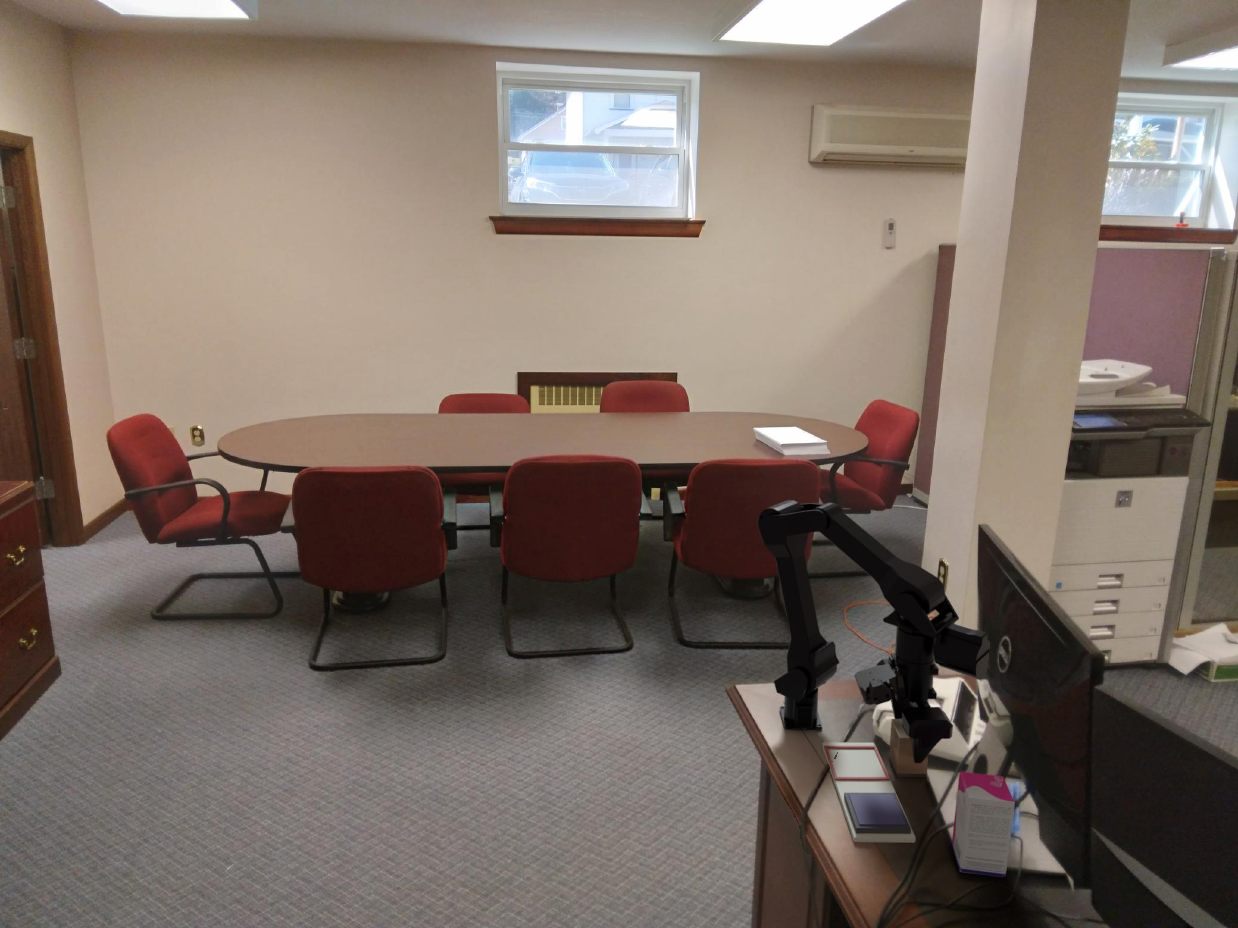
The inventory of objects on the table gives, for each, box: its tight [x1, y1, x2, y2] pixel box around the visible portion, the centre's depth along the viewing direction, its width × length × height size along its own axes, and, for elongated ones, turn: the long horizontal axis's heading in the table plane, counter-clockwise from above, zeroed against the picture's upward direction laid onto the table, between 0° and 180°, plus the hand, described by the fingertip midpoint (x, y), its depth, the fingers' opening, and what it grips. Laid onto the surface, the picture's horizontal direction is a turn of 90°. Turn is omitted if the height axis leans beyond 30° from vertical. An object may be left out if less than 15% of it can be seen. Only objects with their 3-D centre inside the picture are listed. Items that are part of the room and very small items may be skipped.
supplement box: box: [951, 771, 1016, 878], centre depth 104 cm, size 6×6×12 cm
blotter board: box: [821, 742, 917, 844], centre depth 119 cm, size 22×8×2 cm, turn 177°
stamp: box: [888, 718, 929, 778], centre depth 124 cm, size 4×4×7 cm
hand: (908, 744), depth 124 cm, fingers open, 9 cm apart
